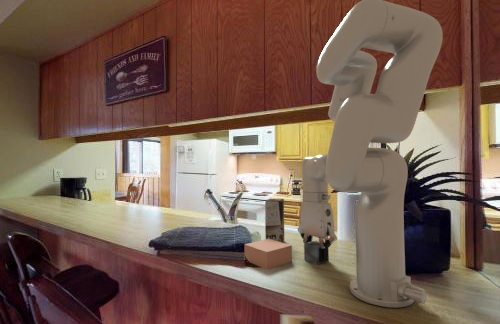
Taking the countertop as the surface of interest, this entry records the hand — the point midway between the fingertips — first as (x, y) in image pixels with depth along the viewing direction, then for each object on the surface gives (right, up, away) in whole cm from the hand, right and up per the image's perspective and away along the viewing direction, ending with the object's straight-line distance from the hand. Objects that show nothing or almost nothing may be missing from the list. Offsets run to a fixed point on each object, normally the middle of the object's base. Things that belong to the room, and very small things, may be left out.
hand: (316, 258), depth 80 cm
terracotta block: (-14, -1, 0) cm, 14 cm away
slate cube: (0, -1, 0) cm, 1 cm away
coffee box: (-10, -2, +19) cm, 22 cm away
